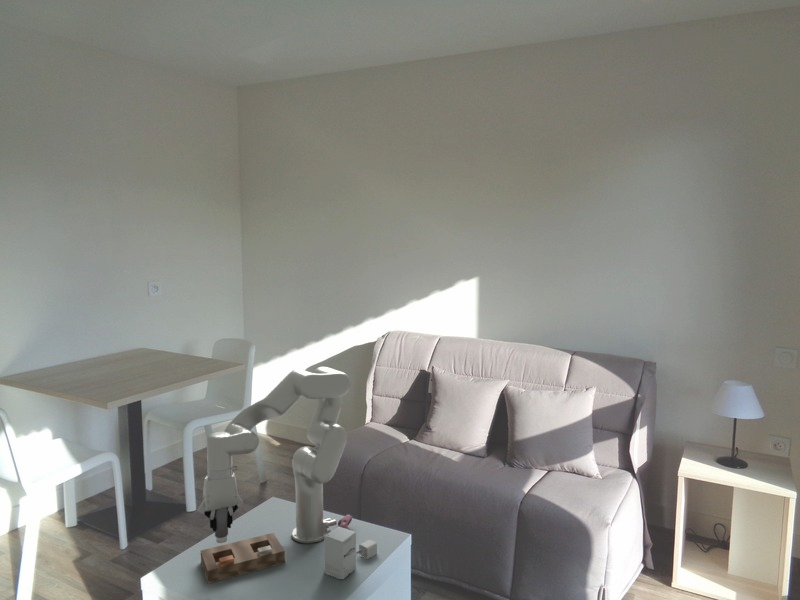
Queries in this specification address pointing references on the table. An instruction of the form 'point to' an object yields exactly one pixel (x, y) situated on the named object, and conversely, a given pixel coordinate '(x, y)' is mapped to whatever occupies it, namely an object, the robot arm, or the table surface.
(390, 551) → the table surface
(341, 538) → the supplement box
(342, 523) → the video game controller
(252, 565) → the socket block
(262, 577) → the table surface
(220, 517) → the charcoal plug
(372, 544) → the usb wall charger
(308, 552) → the table surface
